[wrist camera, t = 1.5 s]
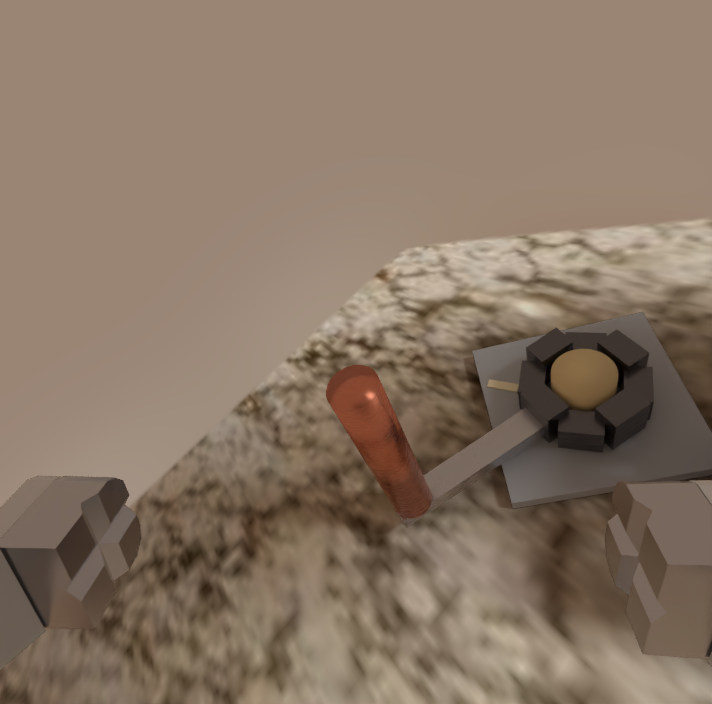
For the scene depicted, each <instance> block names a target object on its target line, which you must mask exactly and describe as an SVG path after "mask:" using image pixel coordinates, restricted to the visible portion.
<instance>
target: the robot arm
mask: <svg viewBox="0 0 712 704" xmlns="http://www.w3.org/2000/svg"><path fill="white" fill-rule="evenodd" d="M128 497H129V493H128V491H127V489H126V486H125V484H124V482H123V480H120V479H117V478H109V477H77V476H63V477H57V476H36V477H33V478H31V479H28V480H27V481H26V482H25V483H24V484H23V485H22V486H21V487H20V488H19V489H18V490H17V491H16V492H15V493H14V494H13V495H12V496H11V497H10V498H9V499H8V500H7V501H6V502H5V503H4V504H3V505H2V506H1V507H0V670H1V669H2V668H3V667H4V666H6V665H7V664H8V663H9V662H10V661H11V660H13V659H14V658H15V657H16V656H17V655H18V654H20V653H21V652H22V651H23V650H24V649H25V648H27V647H28V646H29V645H30V644H31V643H32V642H34V641H35V640H36V639H37V638H38V637H39V636H41V635H42V634H43V633H44V632H45V631H46V630H45V628H67V629H95V628H96V626H97V624H98V623H99V621H100V619H101V617H102V616H103V614H104V612H105V611H106V609H107V607H108V605H109V604H110V602H111V600H112V599H113V597H114V595H115V593H116V589H115V583H114V580H116V579H117V578H119V577H120V576H121V575H123V574H124V573H125V572H127V571H128V570H129V569H130V567H131V565H132V564H133V562H134V560H135V558H136V556H137V554H138V549H139V545H140V541H141V529H140V523H139V520H138V517H137V514H136V513H134V512H133V511H132V510H131V509H130V508H128V507H127V506H126V505H125V503H126V501H127V499H128ZM612 502H613V505H614V507H615V509H616V511H617V514H616V515H615V516H614V517H613V518H611V519H610V520H609V521H608V522H607V528H606V535H605V545H606V557H607V561H608V565H609V569H610V572H611V575H612V578H613V580H614V583H615V585H616V586H618V587H619V588H620V589H621V590H622V591H623V592H625V593H626V594H627V595H628V596H629V598H628V602H627V606H626V614H627V616H628V619H629V621H630V624H631V626H632V629H633V631H634V634H635V636H636V639H637V641H638V644H639V646H640V649H641V651H642V654H646V655H660V656H674V657H687V658H701V659H709V660H708V663H709V664H710V665H711V666H712V480H690V481H688V482H687V481H618V483H617V484H616V486H615V488H614V492H613V496H612Z"/></svg>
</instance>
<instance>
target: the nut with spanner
mask: <svg viewBox="0 0 712 704" xmlns="http://www.w3.org/2000/svg"><path fill="white" fill-rule="evenodd" d="M575 349H591V350H596V351H599V352H601V353H603V354H605V355H607V356H608V357H609V358H610V359H611V360H612V361H613V362H614V363H615V365H616V367H617V369H618V383H617V385H618V386H619V387H620V388H621V392H619V393H618V394H616V395H615V396H613V397H612V398H610V399H609V400H607V401H606V402H604V403H603V404H601V405H600V406H598V407H597V408H596V409H595V412H594V411H582V410H570V409H569V406H568V405H567V404H566V403H565V402H564V401H563V400H561V399H560V398H559V397H558V396H557V395H556V394H555V393H554V392H553V391H552V390H551V389H549V388H548V387H547V383H549V382H550V381H551V368H552V365H553V363H554V362H555V360H556V359H557V358H558V357H559V356H561V355H562V354H564V353H566V352H568V351H571V350H575ZM526 355H527V361H525V360H522V364H521V372H520V379H519V387H518V397H519V406H520V409H522V410H521V411H520V412H518V413H517V414H515V415H514V416H512V417H511V418H509V419H508V420H506V421H505V422H503V423H502V424H500V425H499V426H497V427H496V428H494V429H493V430H491V431H490V432H488V433H487V434H485V435H484V436H482V437H481V438H479V439H478V440H476V441H475V442H473V443H471V444H470V445H468V446H467V447H465V448H464V449H462V450H461V451H459V452H458V453H456V454H455V455H453V456H452V457H450V458H449V459H447V460H446V461H444V462H443V463H441V464H440V465H438V466H437V467H435V468H434V469H432V470H431V471H429V472H428V473H426V474H425V475H423V474H422V471H421V469H420V467H419V465H418V463H417V461H416V458H415V456H414V454H413V452H412V450H411V447H410V445H409V443H408V441H407V439H406V436H405V434H404V432H403V430H402V428H401V426H400V423H399V421H398V419H397V417H396V415H395V412H394V410H393V408H392V406H391V404H390V402H389V399H388V397H387V395H386V393H385V391H384V388H383V386H382V384H381V382H380V380H379V377H378V375H377V374H376V372H375V371H374V370H373V369H371V368H369V367H367V366H363V365H353V366H349V367H346V368H344V369H342V370H340V371H339V372H337V373H336V374H335V375H334V376H333V377H332V379H331V380H330V382H329V384H328V386H327V390H326V396H327V400H328V402H329V404H330V405H331V407H332V408H333V410H334V412H335V413H336V415H337V416H338V418H339V420H340V421H341V423H342V425H343V426H344V428H345V429H346V431H347V433H348V434H349V436H350V437H351V439H352V441H353V442H354V444H355V446H356V447H357V449H358V450H359V452H360V454H361V455H362V457H363V458H364V460H365V462H366V463H367V465H368V467H369V468H370V470H371V471H372V473H373V475H374V476H375V478H376V479H377V481H378V483H379V484H380V486H381V488H382V489H383V491H384V492H385V494H386V496H387V497H388V499H389V501H390V502H391V504H392V506H393V507H394V509H395V510H396V512H397V513H398V515H399V517H400V518H401V520H402V521H403V523H404V525H405V526H406V528H407V527H409V526H410V525H412V524H413V523H415V522H416V521H418V520H419V519H420V518H422V517H423V516H425V515H426V514H428V513H429V512H431V511H432V510H434V509H435V508H437V507H438V506H440V505H441V504H443V503H444V502H446V501H447V500H449V499H450V498H452V497H453V496H455V495H456V494H458V493H459V492H461V491H462V490H463V489H465V488H466V487H468V486H469V485H471V484H472V483H474V482H475V481H477V480H478V479H480V478H481V477H483V476H484V475H486V474H487V473H489V472H490V471H492V470H493V469H495V468H496V467H498V466H499V465H501V464H502V463H504V462H505V461H506V460H508V459H509V458H511V457H512V456H514V455H515V454H517V453H518V452H520V451H521V450H523V449H524V448H526V447H527V446H529V445H530V444H532V443H533V442H535V441H536V440H538V439H539V438H541V437H543V438H544V439H545V440H546V441H547V442H548V443H550V442H552V441H553V440H554V439H556V438H557V437H558V448H567V449H576V450H585V451H594V452H603V445H604V443H606V444H607V445H608V446H609V447H610V448H611V449H612V450H614V449H615V448H617V447H618V446H619V445H621V444H622V443H624V442H625V441H627V440H628V439H630V438H631V437H633V436H634V435H635V434H637V433H638V432H640V431H641V430H643V429H644V428H646V423H647V420H650V416H651V412H652V408H653V404H654V390H653V367H647V363H648V358H649V352H648V351H647V350H645V349H644V348H642V347H641V346H640V345H638V344H637V343H635V342H634V341H633V340H631V339H630V338H628V337H627V336H626V335H624V334H623V333H621V332H620V331H619V330H615V331H614V332H612V333H611V334H609V335H608V336H607V333H586V332H565V334H564V333H562V332H561V331H560V330H559V329H557V328H555V329H554V330H552V331H551V332H549V333H548V334H546V335H544V336H543V337H541V338H540V339H538V340H537V341H535V342H534V343H532V344H531V345H529V346H528V347H526Z"/></svg>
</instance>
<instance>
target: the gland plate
mask: <svg viewBox="0 0 712 704" xmlns="http://www.w3.org/2000/svg"><path fill="white" fill-rule="evenodd" d="M615 330H619V331H620V332H621V333H623V334H624V335H626V336H627V337H628V338H630V339H631V340H633V341H634V342H635V343H637V344H638V345H640V346H641V347H642V348H644V349H645V350H647V351H648V352H649V358H648V363H647V367H653V390H654V404H653V408H652V412H651V416H650V420H647V423H646V428H644V429H643V430H641V431H640V432H638V433H637V434H635V435H634V436H633V437H631V438H630V439H628V440H627V441H625V442H624V443H622V444H621V445H619V446H618V447H617V448H615V449H614V450H612V449H611V448H610V447H609V446H608V445H607V444H606V443H604V445H603V452H594V451H585V450H576V449H567V448H558V437H557V438H556V439H554V440H553V441H552V442H550V443H548V442H547V441H546V440H545V439H544V438H543V437H541V438H539V439H538V440H536V441H535V442H533V443H532V444H530V445H529V446H527V447H526V448H524V449H523V450H521V451H520V452H518V453H517V454H515V455H514V456H512V457H511V458H509V459H508V460H506V461H505V462H504V463H502V464H501V465H502V469H503V473H504V477H505V480H506V484H507V488H508V492H509V496H510V500H511V504H512V508H513V509H515V508H521V507H527V506H532V505H538V504H544V503H550V502H556V501H562V500H568V499H574V498H580V497H586V496H592V495H598V494H604V493H609V492H614V488H615V486H616V484H617V483H618V481H681V480H687V479H692V478H698V477H704V476H710V475H712V432H711V430H710V429H709V427H708V425H707V423H706V422H705V420H704V418H703V416H702V415H701V413H700V411H699V409H698V408H697V406H696V404H695V402H694V401H693V399H692V397H691V395H690V394H689V392H688V390H687V388H686V387H685V385H684V383H683V381H682V380H681V378H680V376H679V375H678V373H677V371H676V369H675V368H674V366H673V364H672V362H671V361H670V359H669V357H668V355H667V354H666V352H665V350H664V348H663V347H662V345H661V343H660V341H659V340H658V338H657V336H656V334H655V333H654V331H653V329H652V327H651V326H650V324H649V322H648V320H647V319H646V317H645V315H644V313H643V312H640V313H636V314H631V315H627V316H623V317H618V318H614V319H609V320H605V321H601V322H596V323H592V324H588V325H583V326H579V327H575V328H570V329H566V330H561V332H562V333H564V334H565V332H586V333H607V336H608V335H609V334H611V333H612V332H614V331H615ZM544 335H546V334H544ZM544 335H540V336H535V337H531V338H527V339H522V340H518V341H513V342H509V343H505V344H500V345H496V346H492V347H487V348H483V349H479V350H474V351H473V356H474V360H475V364H476V368H477V372H478V376H479V380H480V384H481V387H482V391H483V395H484V399H485V403H486V407H487V411H488V415H489V418H490V422H491V426H492V430H493V429H494V428H496V427H497V426H499V425H500V424H502V423H503V422H505V421H506V420H508V419H509V418H511V417H512V416H514V415H515V414H517V413H518V412H520V411H521V410H522V409H520V406H519V397H518V387H519V379H520V372H521V364H522V360H525V361H527V355H526V347H528V346H529V345H531V344H532V343H534V342H535V341H537V340H538V339H540V338H541V337H543V336H544ZM617 383H618V369H617V367H616V365H615V363H614V362H613V361H612V360H611V359H610V358H609V357H608V356H607V355H605V354H603V353H601V352H599V351H596V350H591V349H575V350H571V351H568V352H566V353H564V354H562V355H561V356H559V357H558V358H557V359H556V360H555V362H554V363H553V365H552V368H551V381H550V382H549V383H547V387H548V388H549V389H551V390H552V391H553V392H554V393H555V394H556V395H557V396H558V397H559V398H560V399H561V400H563V401H564V402H565V403H566V404H567V405H568V406H569V409H570V410H582V411H594V412H595V409H596V408H597V407H598V406H600V405H601V404H603V403H604V402H606V401H607V400H609V399H610V398H612V397H613V396H615V395H616V394H618V393H619V392H621V388H620V387H619V386H618V385H617Z"/></svg>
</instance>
